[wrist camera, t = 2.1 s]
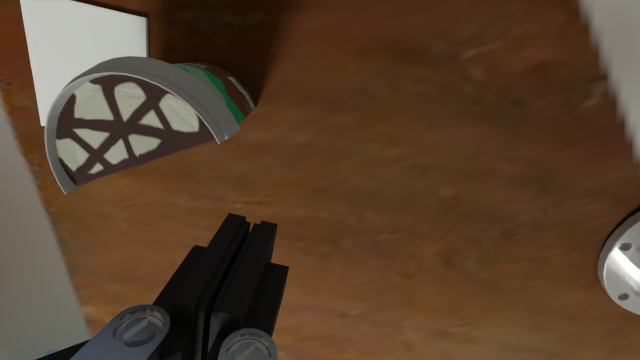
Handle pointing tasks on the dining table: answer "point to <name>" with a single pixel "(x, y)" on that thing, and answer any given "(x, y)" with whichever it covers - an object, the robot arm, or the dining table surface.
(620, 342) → the dining table surface
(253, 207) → the dining table surface
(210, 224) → the dining table surface
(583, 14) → the dining table surface
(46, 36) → the mat
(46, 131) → the food container
